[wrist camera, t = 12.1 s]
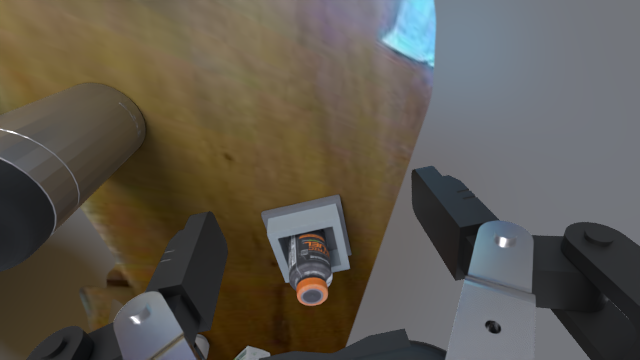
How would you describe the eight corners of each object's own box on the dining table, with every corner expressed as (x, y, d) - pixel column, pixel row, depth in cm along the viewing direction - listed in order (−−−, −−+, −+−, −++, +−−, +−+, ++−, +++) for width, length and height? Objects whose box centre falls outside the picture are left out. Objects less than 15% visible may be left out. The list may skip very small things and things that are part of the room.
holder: (282, 265, 51) (282, 287, 48) (261, 211, 45) (259, 231, 41) (350, 250, 51) (355, 270, 47) (338, 194, 45) (344, 212, 41)
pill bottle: (331, 228, 47) (344, 286, 37) (316, 254, 50) (324, 315, 40) (296, 217, 45) (300, 276, 36) (282, 245, 48) (282, 306, 38)
